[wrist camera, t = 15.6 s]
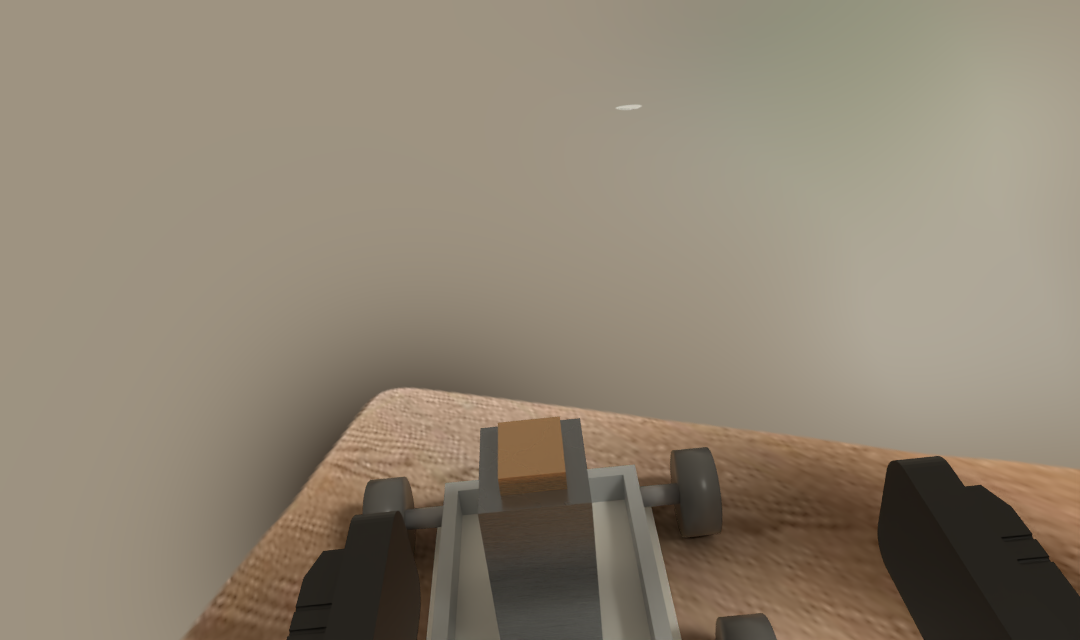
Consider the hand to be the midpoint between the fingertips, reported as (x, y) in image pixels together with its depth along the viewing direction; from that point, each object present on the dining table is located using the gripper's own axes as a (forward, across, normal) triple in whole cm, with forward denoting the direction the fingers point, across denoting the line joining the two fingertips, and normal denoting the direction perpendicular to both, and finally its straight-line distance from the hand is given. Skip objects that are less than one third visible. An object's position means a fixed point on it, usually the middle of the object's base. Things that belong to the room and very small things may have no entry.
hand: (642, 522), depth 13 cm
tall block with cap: (+19, +3, +25) cm, 31 cm away
